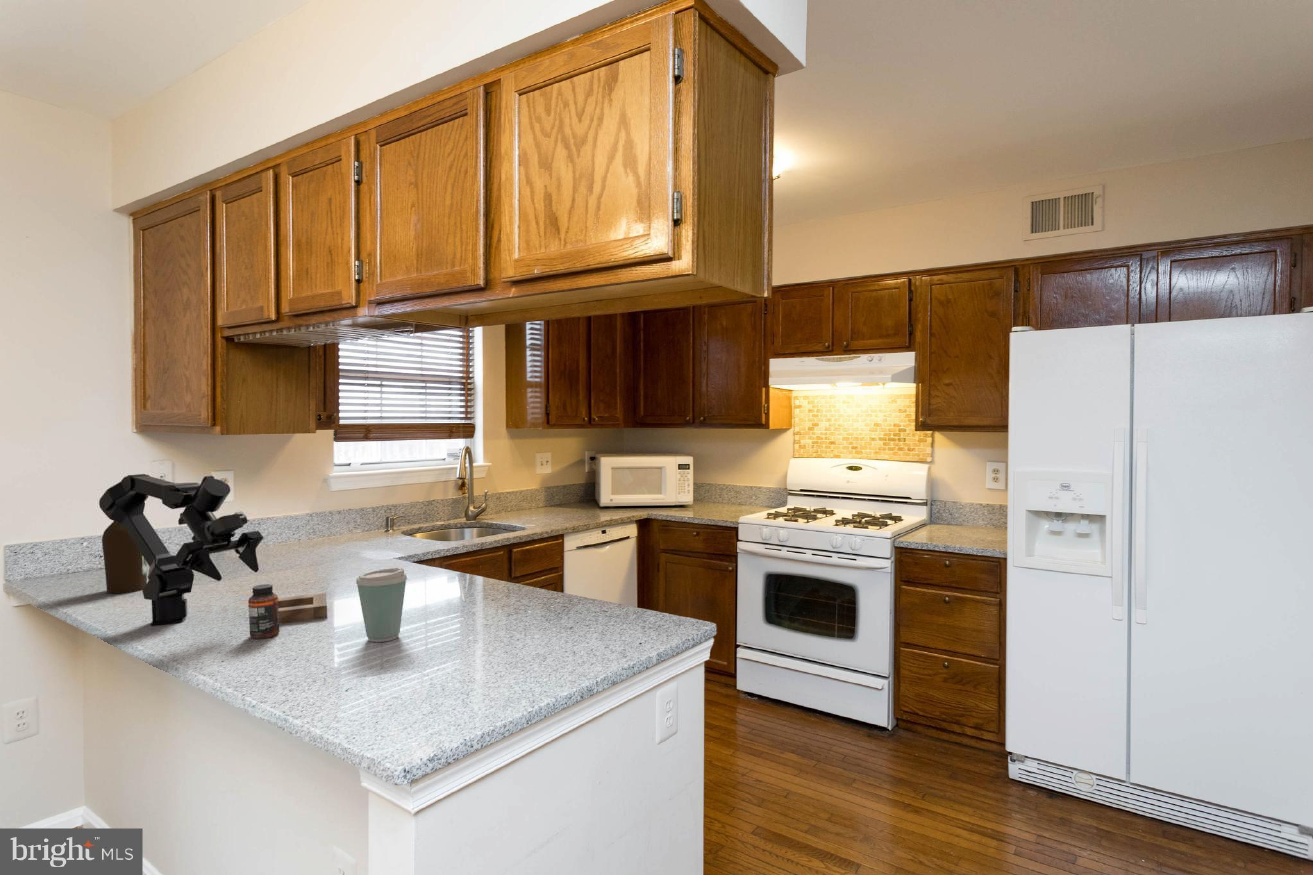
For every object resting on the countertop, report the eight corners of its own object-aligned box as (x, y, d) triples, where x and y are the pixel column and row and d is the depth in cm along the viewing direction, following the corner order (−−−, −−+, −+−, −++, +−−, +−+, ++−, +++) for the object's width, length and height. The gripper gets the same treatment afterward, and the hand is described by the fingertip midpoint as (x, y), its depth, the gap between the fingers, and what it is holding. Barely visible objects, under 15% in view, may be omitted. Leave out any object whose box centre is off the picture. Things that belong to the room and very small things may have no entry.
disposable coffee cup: (354, 647, 154) (352, 577, 153) (360, 633, 164) (358, 567, 163) (407, 642, 157) (405, 573, 156) (409, 628, 167) (407, 564, 166)
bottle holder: (262, 625, 171) (261, 613, 171) (265, 611, 184) (265, 599, 184) (327, 617, 177) (326, 605, 177) (326, 604, 190) (326, 592, 190)
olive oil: (105, 596, 203) (101, 507, 202) (103, 589, 211) (99, 504, 210) (151, 590, 209) (147, 504, 209) (147, 583, 218) (144, 501, 217)
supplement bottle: (272, 629, 168) (271, 581, 167) (284, 634, 164) (282, 585, 164) (245, 636, 163) (243, 586, 163) (256, 641, 159) (254, 590, 159)
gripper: (180, 507, 159) (217, 560, 155) (256, 497, 176) (291, 544, 172) (158, 541, 162) (193, 593, 158) (235, 528, 179) (268, 575, 176)
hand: (239, 575), depth 166 cm, fingers open, 9 cm apart
